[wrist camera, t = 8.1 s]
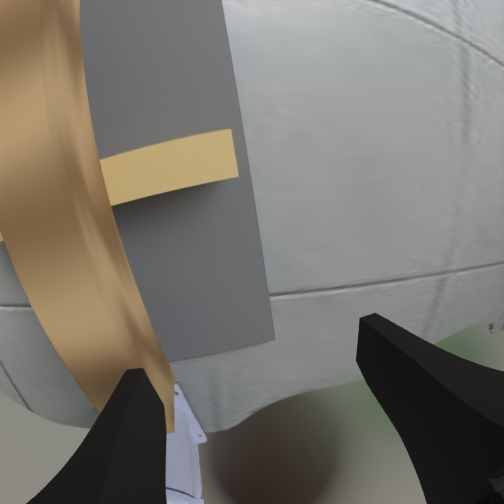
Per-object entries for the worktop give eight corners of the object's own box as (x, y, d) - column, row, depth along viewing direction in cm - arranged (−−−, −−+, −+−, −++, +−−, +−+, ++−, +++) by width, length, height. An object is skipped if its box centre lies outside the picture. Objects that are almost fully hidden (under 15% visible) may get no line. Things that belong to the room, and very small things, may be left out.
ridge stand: (272, 331, 21) (289, 374, 17) (75, 365, 20) (61, 406, 16) (210, -47, 10) (216, -87, 6) (-18, 39, 9) (-55, 29, 5)
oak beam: (174, 376, 16) (174, 432, 12) (127, 382, 15) (119, 436, 12) (80, -32, 6) (49, -70, 3) (25, -6, 6) (-16, -31, 3)
